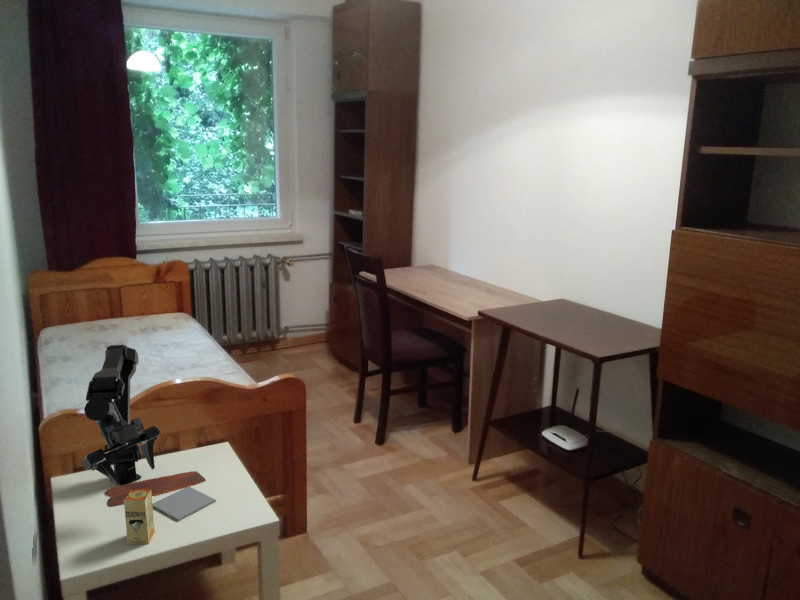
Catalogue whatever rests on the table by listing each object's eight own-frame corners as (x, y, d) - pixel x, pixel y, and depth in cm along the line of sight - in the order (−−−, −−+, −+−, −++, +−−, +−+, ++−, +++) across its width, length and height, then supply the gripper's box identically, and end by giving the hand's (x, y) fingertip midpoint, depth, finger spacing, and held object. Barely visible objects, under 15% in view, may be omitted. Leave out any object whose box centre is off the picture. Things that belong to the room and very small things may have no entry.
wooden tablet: (109, 510, 170) (108, 505, 169) (104, 493, 178) (103, 488, 178) (208, 485, 184) (208, 479, 183) (199, 470, 192) (199, 465, 191)
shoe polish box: (134, 532, 159) (130, 489, 156) (154, 532, 159) (151, 489, 157) (127, 544, 154) (123, 500, 151) (148, 543, 154) (144, 499, 152)
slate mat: (151, 506, 171) (151, 504, 171) (188, 488, 180) (188, 486, 180) (178, 521, 164) (178, 519, 164) (215, 501, 174) (215, 499, 173)
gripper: (81, 428, 150) (109, 487, 148) (154, 399, 163) (180, 452, 161) (70, 441, 158) (97, 497, 156) (140, 412, 171) (166, 463, 169)
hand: (136, 477), depth 160 cm, fingers open, 9 cm apart
